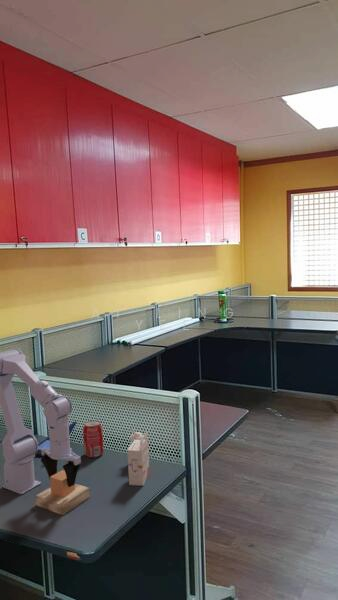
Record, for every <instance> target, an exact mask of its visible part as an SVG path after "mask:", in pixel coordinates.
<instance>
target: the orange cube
mask: <svg viewBox="0 0 338 600" xmlns="http://www.w3.org/2000/svg"><path fill="white" fill-rule="evenodd" d="M49 481H50V483H49V484H50V487H51V493H53V494H55V495H58V496H61V497H64V496H66V495H67V494H69V493H70V492H72V491H74V490H75V484H76V483H75V484H74V485H73V486H71V487H68V484H67V477H66V473H65V470H64V469H62V470H60V471H57V473H56V474H54V475H52V476H51V477H50V479H49Z"/></svg>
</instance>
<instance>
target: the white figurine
mask: <svg viewBox="0 0 338 600" xmlns="http://www.w3.org/2000/svg"><path fill="white" fill-rule="evenodd" d="M130 431H131V432H132V433H133V434H131V435H130V436H129V442H130V443H131V442H133V441H134V440H141V439H142V437H143V436H144V434H142V433H141V432H140V431H137V432H136V430H135V429H133V428H130Z"/></svg>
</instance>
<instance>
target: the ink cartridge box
mask: <svg viewBox="0 0 338 600" xmlns="http://www.w3.org/2000/svg"><path fill="white" fill-rule="evenodd" d="M126 452H127V467H128V468H127V471H128V485H129V486H137V487H138V486H139V487H141V486H142V487H143V486H144V485H145V483H146V481H147V479H148V477H149V475H150V454H149V453H150V452H149V438H148V432H147V431H146V432H145V433H144V434H143V437H142V439H141V440H134V441H133V440H132V443H131V444H130V445H129V447H128V448H127V449H126Z"/></svg>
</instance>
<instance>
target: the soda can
mask: <svg viewBox="0 0 338 600" xmlns="http://www.w3.org/2000/svg"><path fill="white" fill-rule="evenodd" d="M103 431H104V430H103V425H102V424H101V421H99V420H95V419H94V420H89V421H85V423H84V426H83V429H82V432H83V433H82V434H83V451H84V455H85V456H87V457H89V458H92V457H94V458H98V457H100V456H101V455H102V454H103V453H104V432H103Z"/></svg>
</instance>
